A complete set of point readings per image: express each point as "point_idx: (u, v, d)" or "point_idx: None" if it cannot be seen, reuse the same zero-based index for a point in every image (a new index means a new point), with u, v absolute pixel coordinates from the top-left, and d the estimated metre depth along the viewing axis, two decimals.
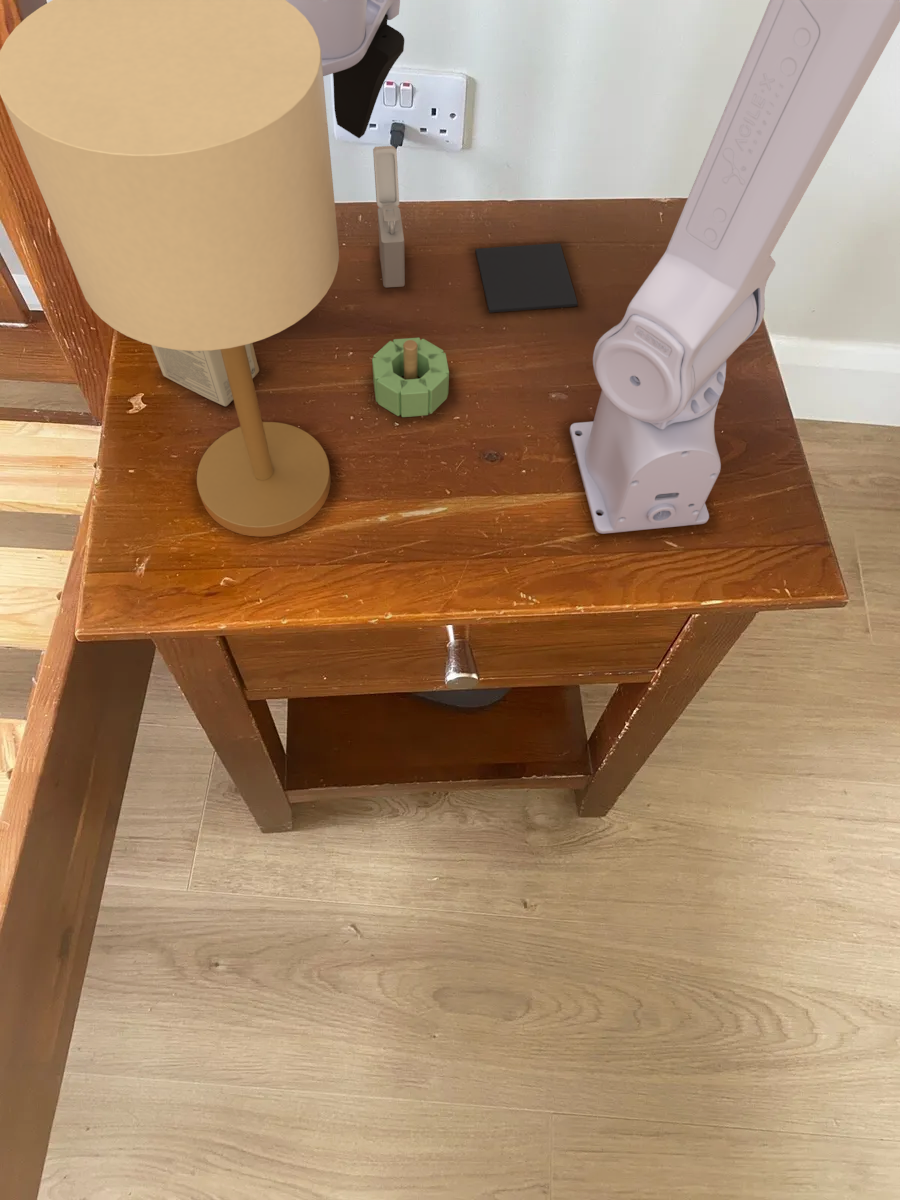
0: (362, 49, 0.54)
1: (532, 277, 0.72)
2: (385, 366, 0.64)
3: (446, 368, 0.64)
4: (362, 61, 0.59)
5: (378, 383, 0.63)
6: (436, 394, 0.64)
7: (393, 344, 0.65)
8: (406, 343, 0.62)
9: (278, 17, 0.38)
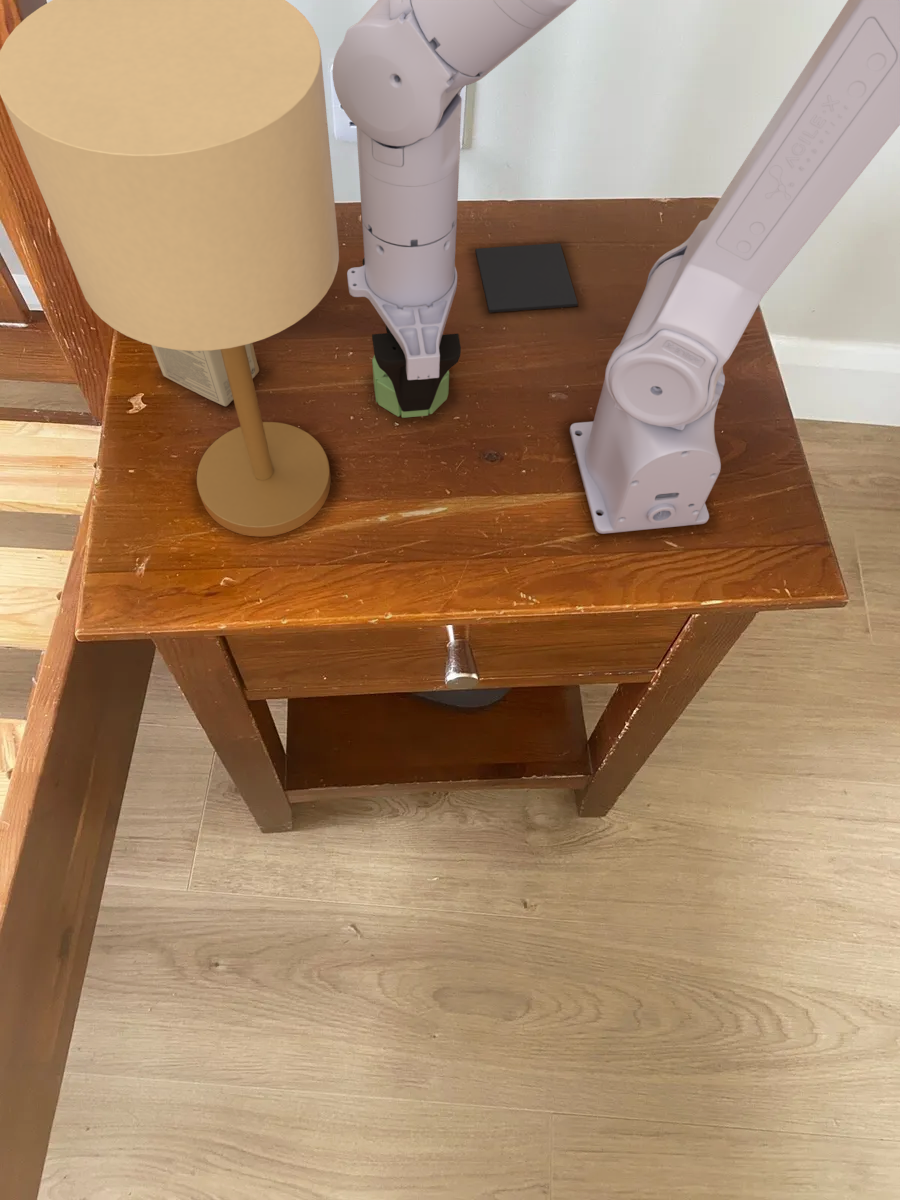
0: (454, 267, 0.57)
1: (532, 277, 0.72)
2: None
3: None
4: None
5: (378, 383, 0.63)
6: (436, 394, 0.64)
7: None
8: None
9: (278, 17, 0.38)
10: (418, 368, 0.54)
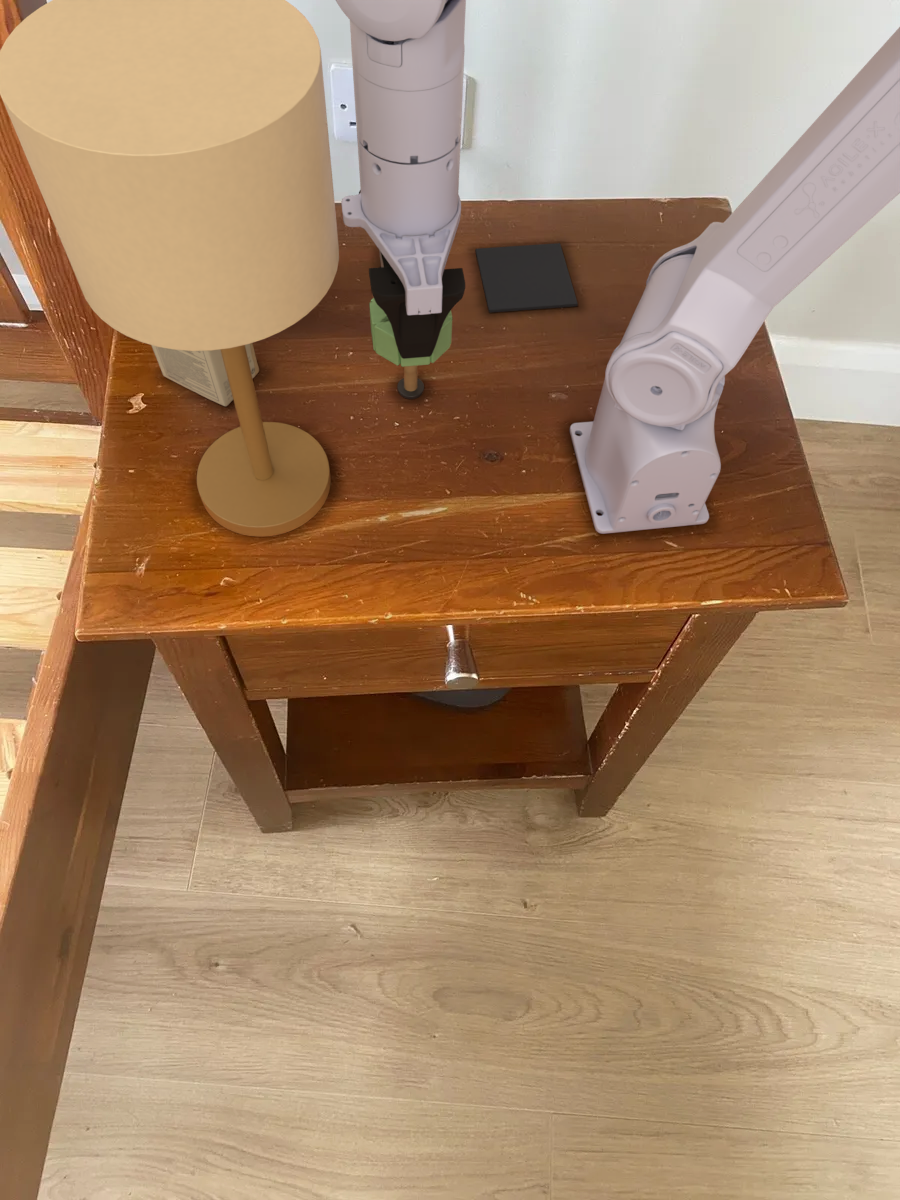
0: (458, 195, 0.53)
1: (532, 277, 0.72)
2: (383, 311, 0.59)
3: (449, 313, 0.59)
4: None
5: (376, 329, 0.59)
6: (438, 341, 0.59)
7: None
8: None
9: (278, 17, 0.38)
10: (419, 301, 0.50)
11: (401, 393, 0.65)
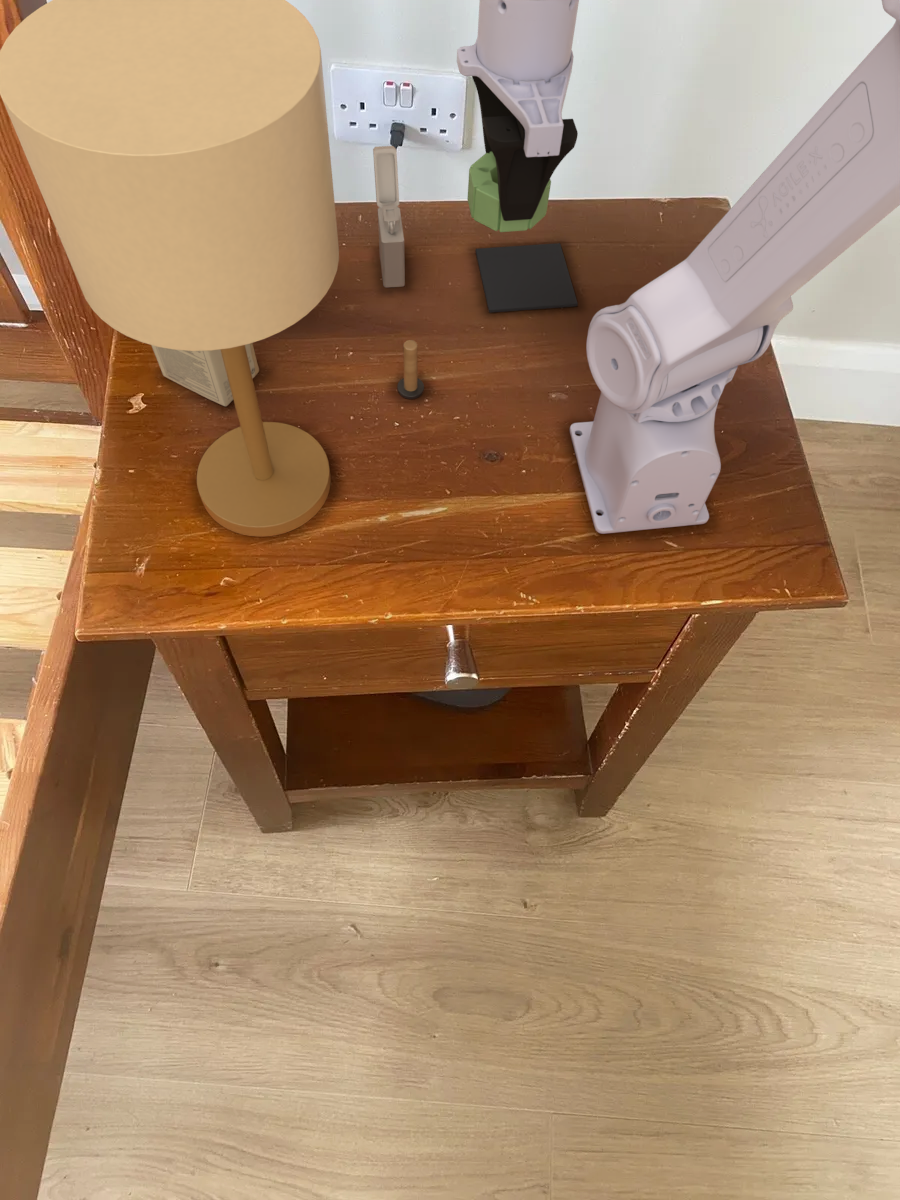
0: None
1: (532, 277, 0.72)
2: (484, 175, 0.60)
3: None
4: None
5: (477, 192, 0.60)
6: None
7: (490, 156, 0.62)
8: (406, 343, 0.62)
9: (278, 17, 0.38)
10: (539, 141, 0.51)
11: (401, 393, 0.65)
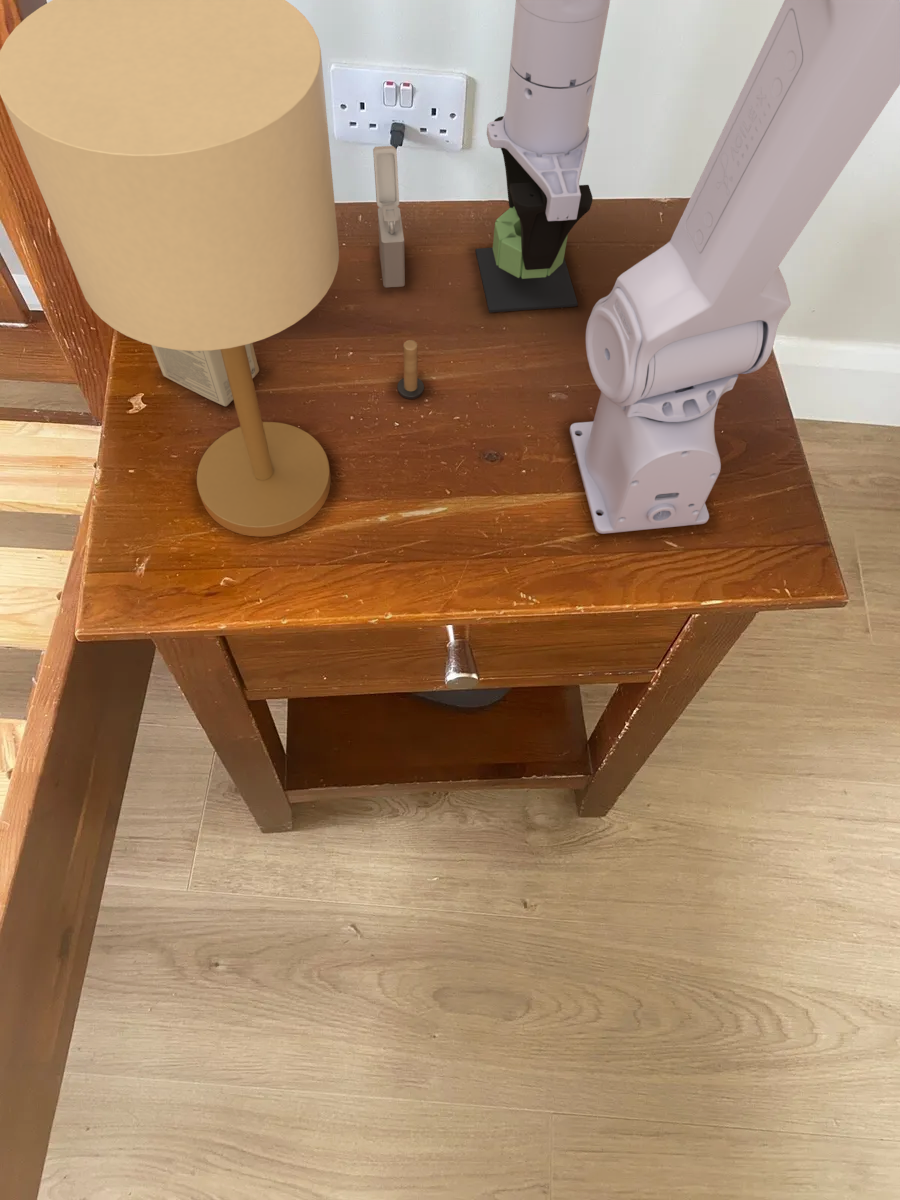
0: None
1: None
2: (508, 229, 0.68)
3: None
4: None
5: (502, 244, 0.67)
6: None
7: (513, 211, 0.69)
8: (406, 343, 0.62)
9: (278, 17, 0.38)
10: (559, 208, 0.58)
11: (401, 393, 0.65)
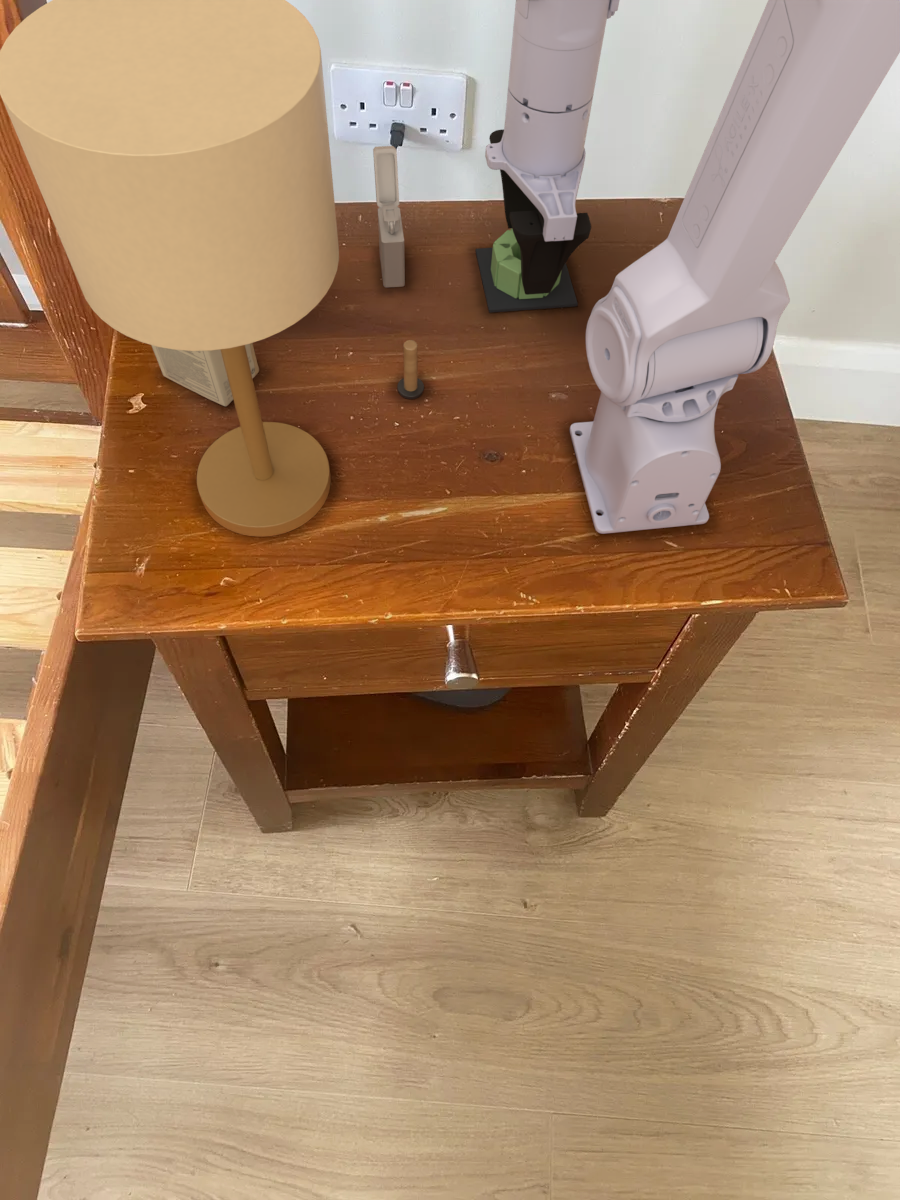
0: None
1: None
2: (505, 251, 0.70)
3: None
4: None
5: (500, 265, 0.69)
6: None
7: (511, 233, 0.71)
8: (406, 343, 0.62)
9: (278, 17, 0.38)
10: (556, 229, 0.60)
11: (401, 393, 0.65)
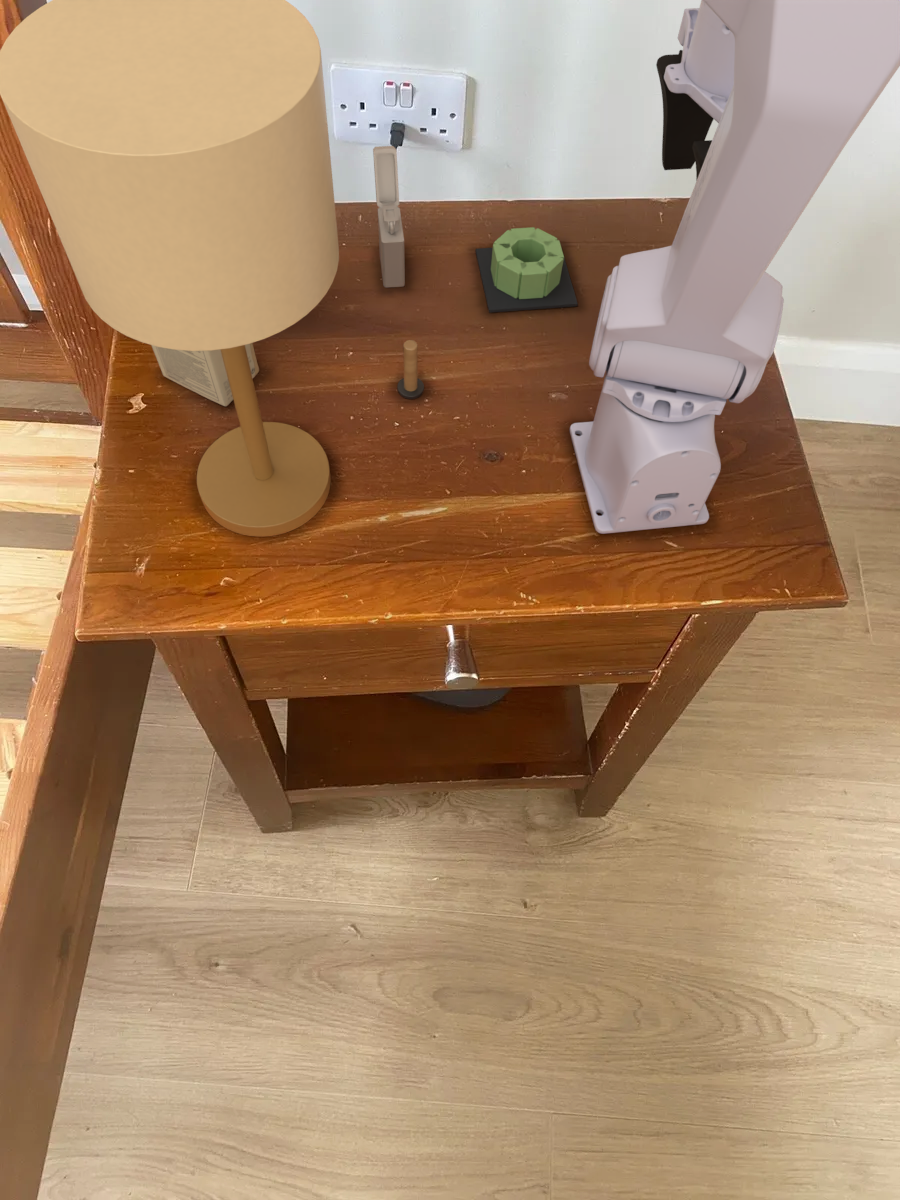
0: None
1: None
2: (505, 251, 0.70)
3: (561, 253, 0.70)
4: None
5: (500, 265, 0.69)
6: (552, 276, 0.70)
7: (511, 233, 0.71)
8: (406, 343, 0.62)
9: (278, 17, 0.38)
10: None
11: (401, 393, 0.65)
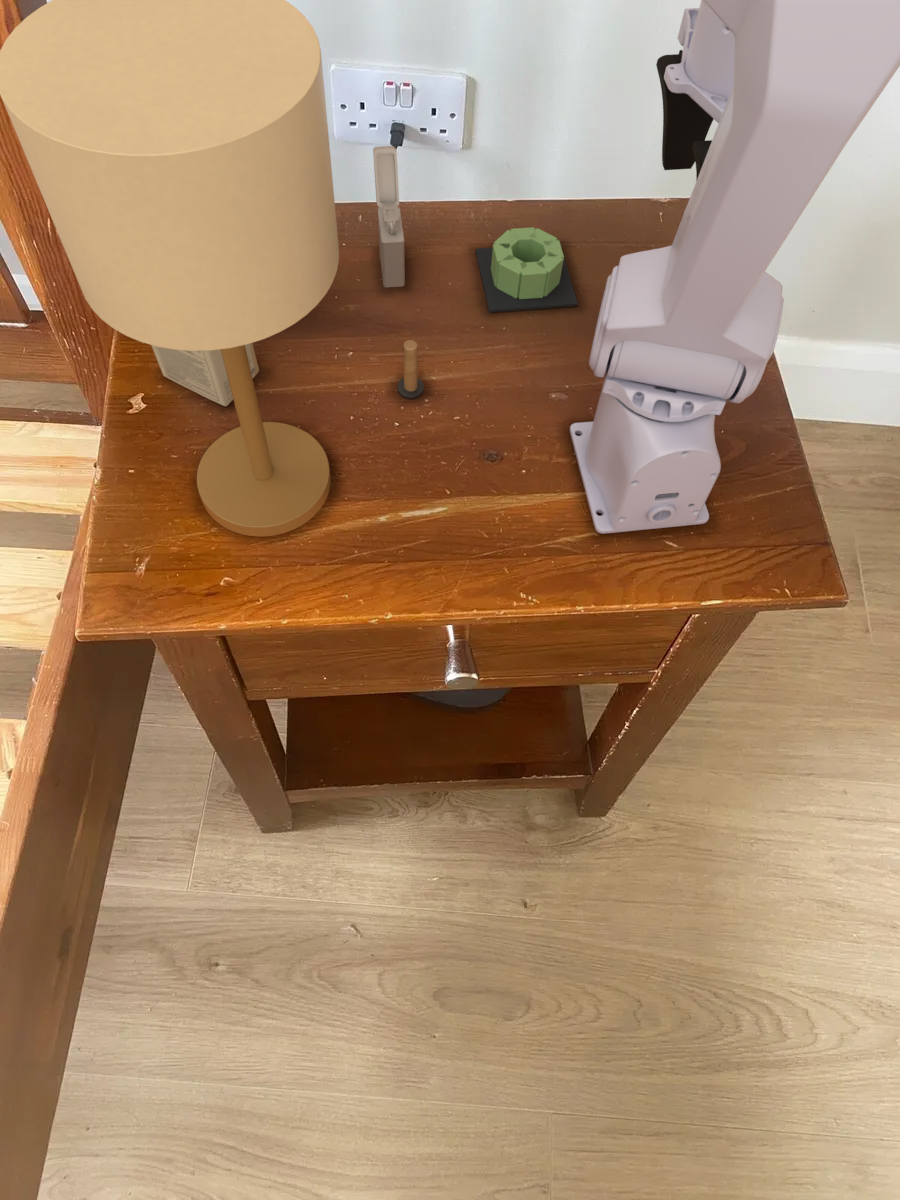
0: None
1: None
2: (505, 251, 0.70)
3: (561, 253, 0.70)
4: None
5: (500, 265, 0.69)
6: (552, 276, 0.70)
7: (511, 233, 0.71)
8: (406, 343, 0.62)
9: (278, 17, 0.38)
10: None
11: (401, 393, 0.65)
